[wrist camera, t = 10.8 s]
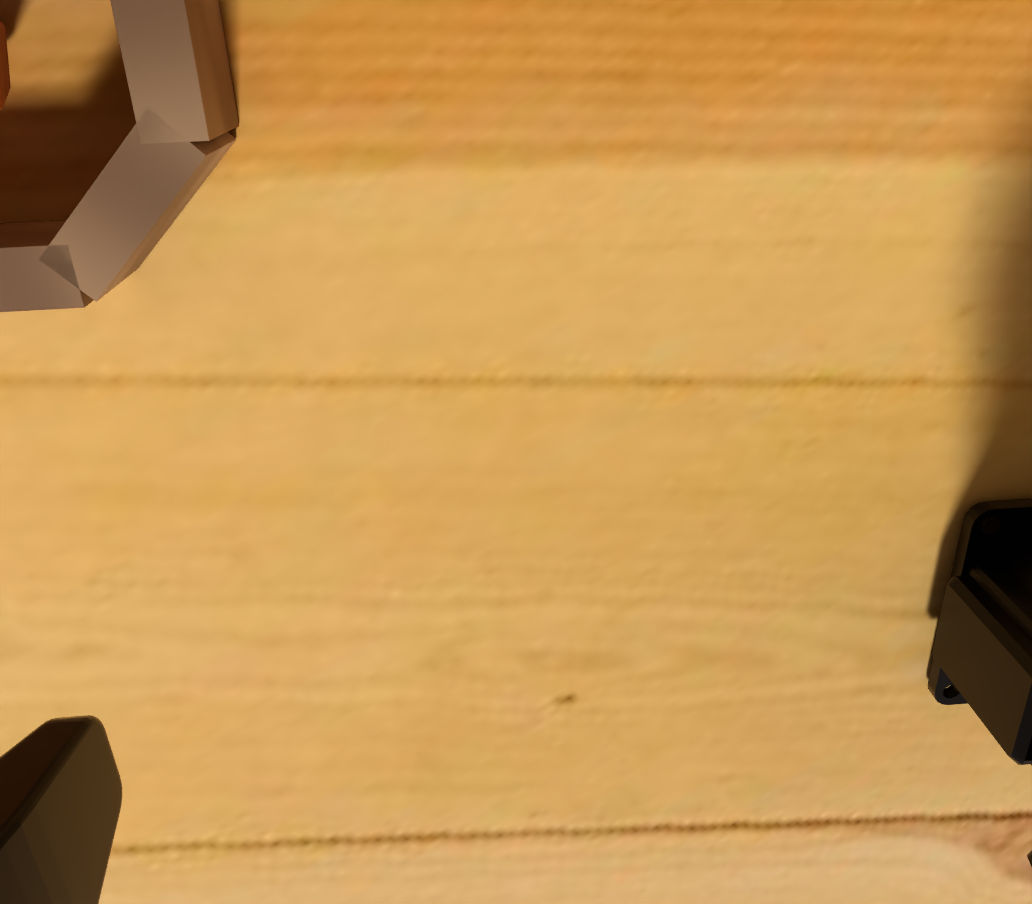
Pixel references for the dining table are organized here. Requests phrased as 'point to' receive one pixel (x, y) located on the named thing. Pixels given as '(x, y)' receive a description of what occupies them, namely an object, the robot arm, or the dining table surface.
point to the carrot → (3, 67)
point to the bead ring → (134, 161)
